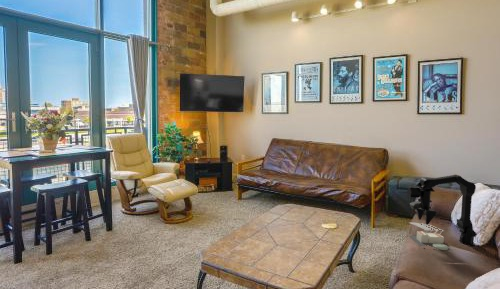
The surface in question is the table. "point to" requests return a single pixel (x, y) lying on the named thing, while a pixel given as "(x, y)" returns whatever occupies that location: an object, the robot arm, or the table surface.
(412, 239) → the mat
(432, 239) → the cream labeled box
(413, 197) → the robot arm
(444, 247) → the coaster
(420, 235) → the cream block
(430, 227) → the crown molding
